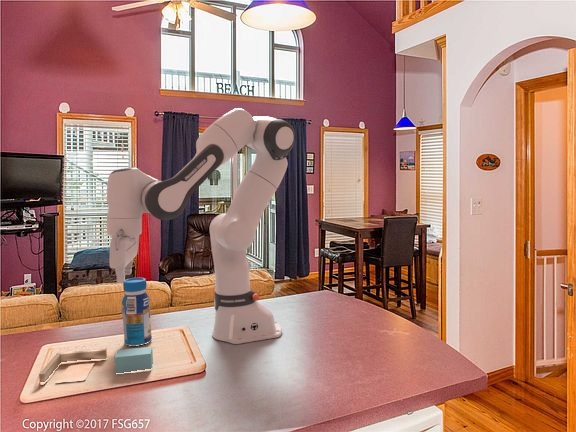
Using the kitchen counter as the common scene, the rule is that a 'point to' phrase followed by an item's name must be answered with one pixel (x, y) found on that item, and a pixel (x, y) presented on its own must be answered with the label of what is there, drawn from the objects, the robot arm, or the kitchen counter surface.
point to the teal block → (133, 359)
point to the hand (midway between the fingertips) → (124, 278)
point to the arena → (70, 357)
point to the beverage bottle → (136, 312)
